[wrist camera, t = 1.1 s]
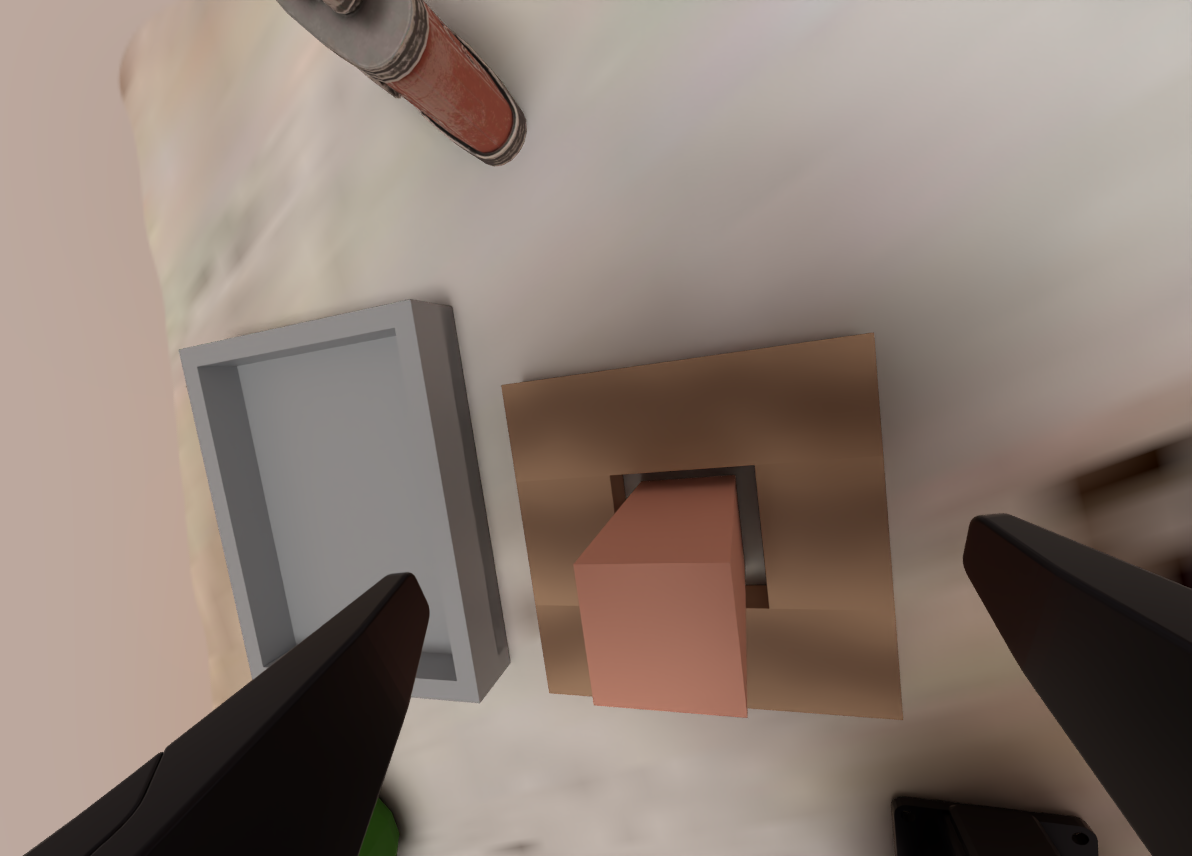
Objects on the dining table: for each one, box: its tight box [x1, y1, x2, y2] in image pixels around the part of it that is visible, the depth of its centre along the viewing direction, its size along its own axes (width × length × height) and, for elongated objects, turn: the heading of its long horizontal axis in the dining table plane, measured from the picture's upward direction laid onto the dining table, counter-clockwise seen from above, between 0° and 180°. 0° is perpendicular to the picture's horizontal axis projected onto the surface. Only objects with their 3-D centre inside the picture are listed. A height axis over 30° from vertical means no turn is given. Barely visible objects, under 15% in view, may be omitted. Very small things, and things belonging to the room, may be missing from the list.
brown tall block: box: [573, 475, 747, 718], centre depth 16 cm, size 4×4×9 cm
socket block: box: [501, 333, 903, 720], centre depth 20 cm, size 14×14×2 cm
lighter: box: [276, 0, 527, 166], centre depth 16 cm, size 8×3×10 cm, turn 46°
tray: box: [179, 299, 510, 703], centre depth 24 cm, size 18×14×3 cm
